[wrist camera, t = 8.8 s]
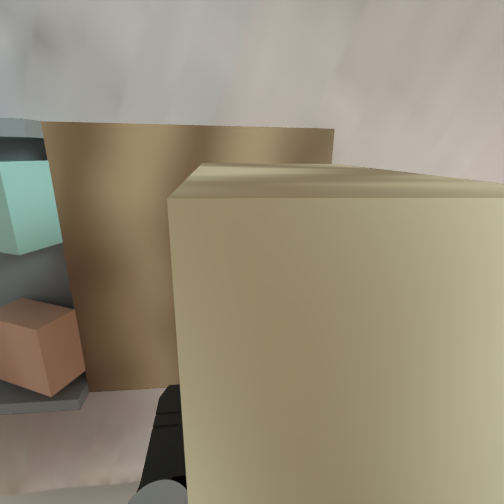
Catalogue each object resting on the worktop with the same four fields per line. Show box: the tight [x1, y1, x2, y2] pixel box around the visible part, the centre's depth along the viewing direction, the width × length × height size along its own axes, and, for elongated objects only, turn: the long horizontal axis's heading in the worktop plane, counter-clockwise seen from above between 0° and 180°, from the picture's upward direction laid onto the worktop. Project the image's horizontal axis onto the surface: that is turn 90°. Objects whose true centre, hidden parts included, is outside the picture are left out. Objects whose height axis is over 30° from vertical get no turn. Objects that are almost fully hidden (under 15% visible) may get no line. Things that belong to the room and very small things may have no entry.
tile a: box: [0, 159, 63, 255], centre depth 17 cm, size 4×4×2 cm
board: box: [41, 121, 334, 392], centre depth 21 cm, size 16×17×2 cm
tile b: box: [0, 298, 86, 397], centre depth 20 cm, size 4×4×2 cm
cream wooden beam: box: [167, 163, 504, 504], centre depth 8 cm, size 4×14×7 cm, turn 179°
